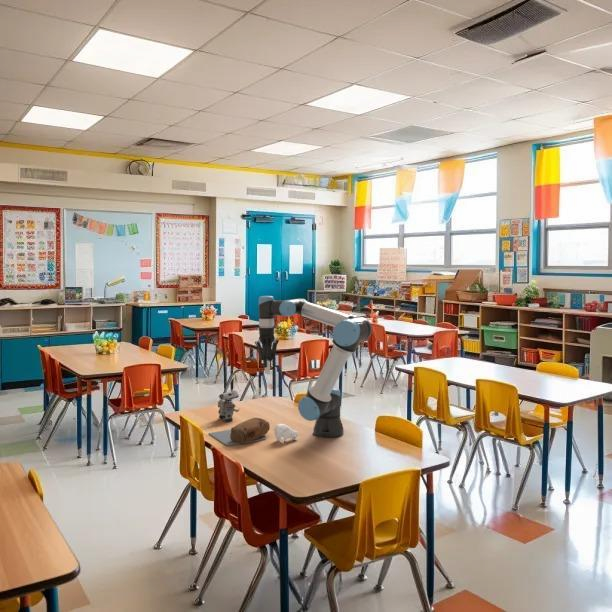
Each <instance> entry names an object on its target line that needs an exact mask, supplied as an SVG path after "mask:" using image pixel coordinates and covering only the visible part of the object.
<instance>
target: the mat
mask: <svg viewBox="0 0 612 612" xmlns="http://www.w3.org/2000/svg"><path fill="white" fill-rule="evenodd" d="M230 434H231V429H226V430H225V429H224V430H220V431H214V432H213V431H212V432H208V435H209V436H211V437H212V438H213V439H215V440H217V441H218V442H219V443H221V444H223V445H224V446H226V447H231V446H232V447H233V446H237V445H243V444H247V443H254V442H259V441H264V440H266V438H265V437H263V436H261V437H259V438H257V439H255V440H251V441H246V442H243V443H238V442H233V441H232V440H231V439H230Z"/></svg>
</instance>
